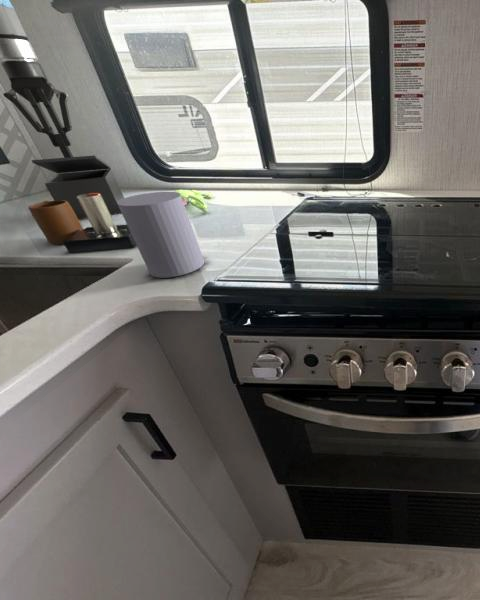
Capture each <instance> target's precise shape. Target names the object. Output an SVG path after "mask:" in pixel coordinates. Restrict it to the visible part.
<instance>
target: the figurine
mask: <svg viewBox="0 0 480 600" xmlns="http://www.w3.org/2000/svg"><path fill="white" fill-rule="evenodd" d="M172 192H177V193H180V195H181V198H182V200H183V203H184V206H186V205H187V204H188V203H189V204H190V205H191V206H193V207H195V208H197V209H198V210H201V211H202V212H203V213H204V214H207V213H208V211H207V208H208V204H207V203H206V202H205V201H204V197H205V198H209V199H210V198H212V197H213V194H212V193H211V192H208V193H205V192H202V191H199V190H194V189H191V190H188V189H176V190H173V191H172ZM187 201H188V203H187Z"/></svg>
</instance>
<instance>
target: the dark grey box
mask: <svg viewBox="0 0 480 600" xmlns="http://www.w3.org/2000/svg"><path fill="white" fill-rule="evenodd" d="M44 185H45V187H46V189H47V190H48V192H49V194H50V196H51V198H52V199H53V201H55V200H66V201H68V203H69V204H70V206H71V207H72V209H73V211H74V213H75V214H76V216H77V218H78V220H81V219H88V218H87V216H86V214H85V212H84V210H83V208H82V206H81V204H80V203H79V201H78V199H77V196H79V195H83V194H89V193H100V194H101V196H102V198H103V200H104V202H105V205H106V207H107V209H108V211H109V213H110V215H111V216H112V215H117V214H122V212H121V210H120V208H119V206H118V204H117V202H118V201H119V200H121V199H124V198H125V196H124V194H123V192H122V190H121V187H120V185H119V183H118V181H117V179H116V176H115V174H114V172H113V170H112V168H111V169H101V170H90V171H79V172H68V173H56V174H55V175H54V176H52V177H51V178H50V179H49V180H47V181H46V182H44Z"/></svg>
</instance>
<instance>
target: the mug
mask: <svg viewBox="0 0 480 600" xmlns="http://www.w3.org/2000/svg"><path fill="white" fill-rule="evenodd" d="M28 210H29V212H30V214H31V216H32V218H33V219H34V221H35V223H36V224H37V226H38V228H39V229H40V231H41V233H42V234H43V236H44V237H45V239H46V240H47V242H48V243H50V244H52V245H64V243H63V242H62V241H64V240H66V239H68V238H69V237H71V236H73V235H75V234H76V233H78V232H80V231H82V230H83V229H84V228H83V226H82V224H81V222H80V219H78V218H77V216H76V214H75V213H74V211H73V209H72V207H71V206H70V204H69V203H68V201H66V200H55V201H54V200H43V201H41V202H37V203H33V204H31V205H29V206H28Z"/></svg>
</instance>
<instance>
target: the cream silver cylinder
mask: <svg viewBox="0 0 480 600" xmlns="http://www.w3.org/2000/svg"><path fill="white" fill-rule="evenodd" d="M77 199H78V201H79V203H80V204H81V206H82V208H83V210H84V212H85V214H86V216H87V218H86V219H88V221H89V223H90V225H91V227H93V229H94V231H95V233H96V234H99V235H101V234H109V233H112V232H115V231H117V230H118V229H117V227H116V225H117V224H116V223H115V221H114V219H113V217H112V214H111V215H110V213H109V211H108V209H107V207H106V205H105V202H104V200H103V198H102V196H101V194H100V193H89V194H83V195H79V196H77Z"/></svg>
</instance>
